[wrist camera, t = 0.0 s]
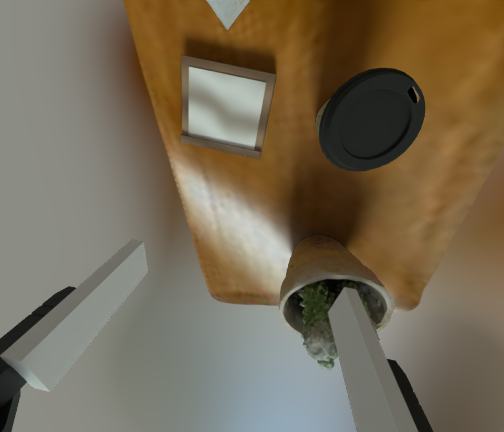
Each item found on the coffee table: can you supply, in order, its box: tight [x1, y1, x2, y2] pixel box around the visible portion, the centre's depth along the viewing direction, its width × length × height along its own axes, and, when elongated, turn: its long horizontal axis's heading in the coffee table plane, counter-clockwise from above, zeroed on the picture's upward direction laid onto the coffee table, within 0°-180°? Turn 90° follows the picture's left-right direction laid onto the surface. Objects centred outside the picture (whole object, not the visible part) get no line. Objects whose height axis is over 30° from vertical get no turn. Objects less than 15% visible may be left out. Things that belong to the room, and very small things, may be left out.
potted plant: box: [279, 235, 394, 370], centre depth 35 cm, size 18×19×25 cm
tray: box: [180, 55, 276, 159], centre depth 31 cm, size 12×14×4 cm
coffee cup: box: [316, 68, 425, 171], centre depth 25 cm, size 10×10×15 cm
